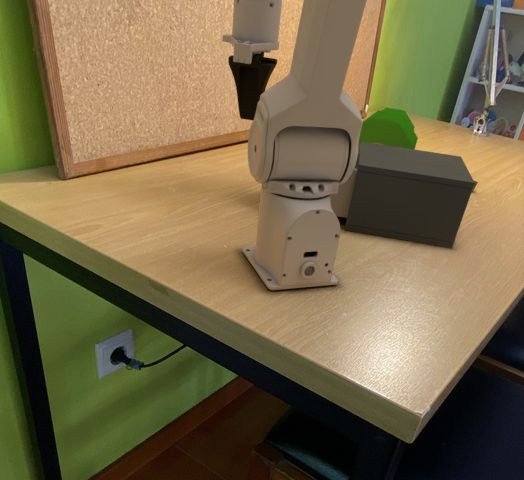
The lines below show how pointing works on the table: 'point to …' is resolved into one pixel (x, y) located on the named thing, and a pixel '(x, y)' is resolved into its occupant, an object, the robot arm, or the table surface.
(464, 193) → the cabinet
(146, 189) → the table surface
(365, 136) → the decorative tree
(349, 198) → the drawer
